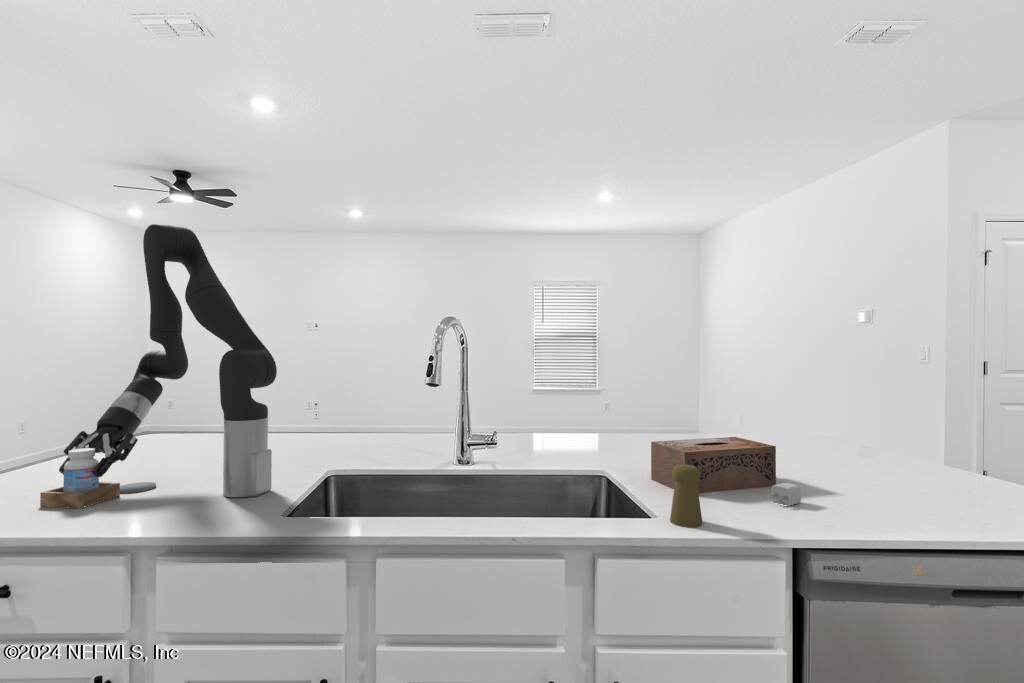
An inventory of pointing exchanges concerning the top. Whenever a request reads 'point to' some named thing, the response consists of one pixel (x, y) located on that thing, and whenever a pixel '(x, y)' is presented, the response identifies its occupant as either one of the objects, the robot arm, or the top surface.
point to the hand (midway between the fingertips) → (79, 474)
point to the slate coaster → (136, 487)
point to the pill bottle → (80, 471)
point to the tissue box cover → (716, 462)
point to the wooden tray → (79, 496)
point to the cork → (686, 497)
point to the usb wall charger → (786, 494)
